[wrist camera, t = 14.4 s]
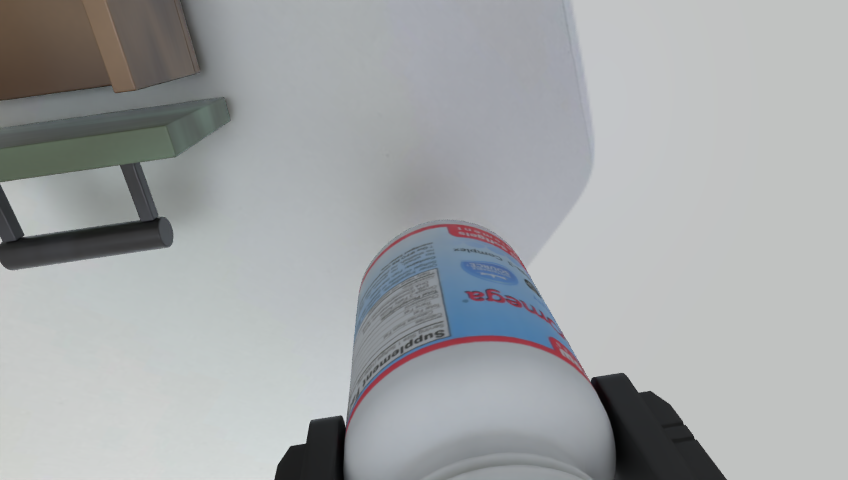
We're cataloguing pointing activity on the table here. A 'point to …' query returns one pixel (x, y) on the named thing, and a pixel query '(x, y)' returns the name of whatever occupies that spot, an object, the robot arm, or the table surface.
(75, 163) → the drawer
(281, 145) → the table surface
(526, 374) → the pill bottle
